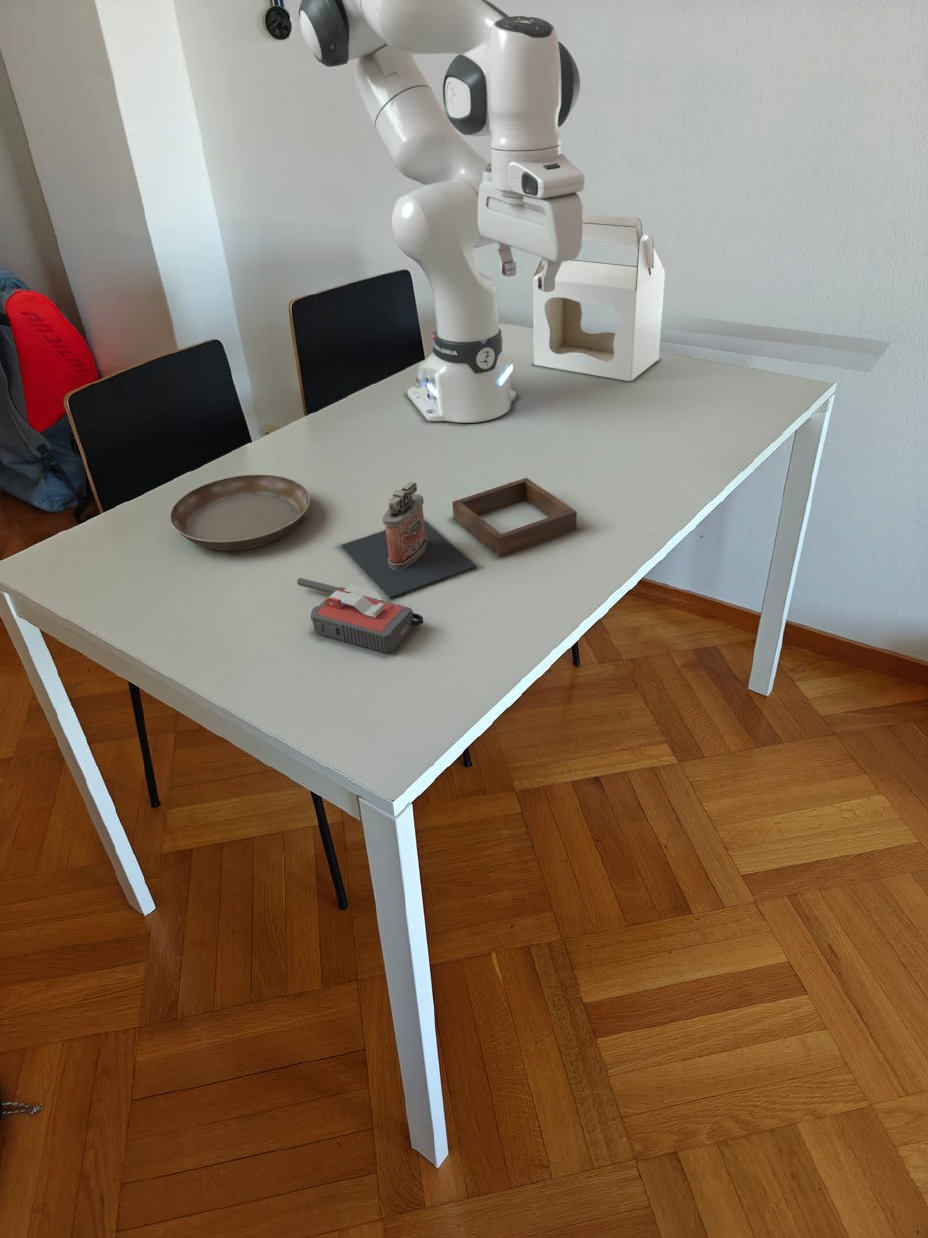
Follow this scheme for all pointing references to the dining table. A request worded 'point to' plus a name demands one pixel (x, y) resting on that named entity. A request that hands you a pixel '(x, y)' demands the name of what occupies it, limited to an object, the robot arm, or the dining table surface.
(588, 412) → the dining table surface
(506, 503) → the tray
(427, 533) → the mat
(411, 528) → the lighter
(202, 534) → the plant saucer
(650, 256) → the gable box
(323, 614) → the walkie-talkie
